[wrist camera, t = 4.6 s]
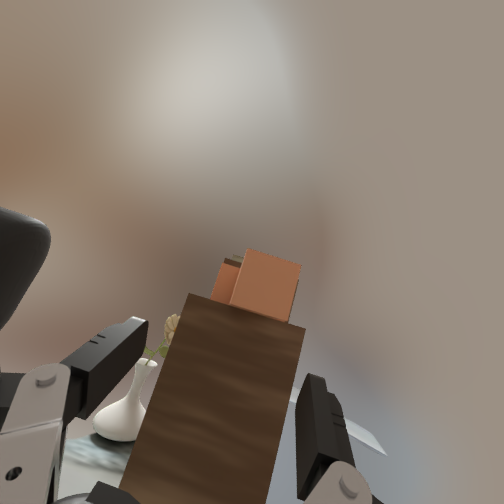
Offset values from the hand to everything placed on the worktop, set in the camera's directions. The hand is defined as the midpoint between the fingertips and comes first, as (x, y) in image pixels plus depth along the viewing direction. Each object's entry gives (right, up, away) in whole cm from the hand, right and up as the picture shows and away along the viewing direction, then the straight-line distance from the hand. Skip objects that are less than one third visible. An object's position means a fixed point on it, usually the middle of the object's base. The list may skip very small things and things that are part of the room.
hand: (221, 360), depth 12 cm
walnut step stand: (-8, -32, +17) cm, 37 cm away
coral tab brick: (+1, -1, +14) cm, 14 cm away
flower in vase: (-25, -32, +39) cm, 56 cm away
